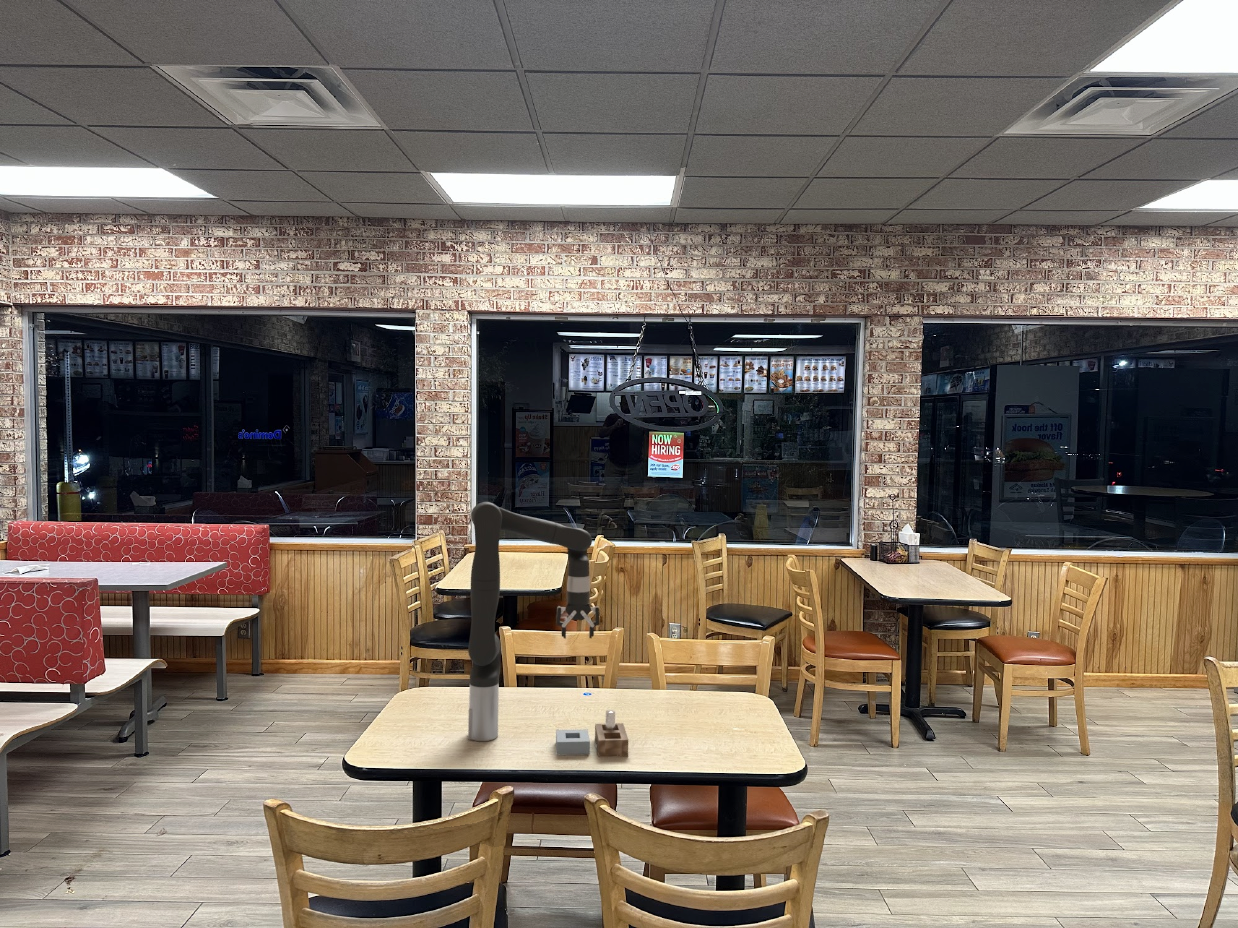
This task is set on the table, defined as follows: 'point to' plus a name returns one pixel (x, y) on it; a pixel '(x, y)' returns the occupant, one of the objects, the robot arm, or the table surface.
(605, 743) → the walnut rack
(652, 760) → the table surface
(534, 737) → the table surface
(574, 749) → the socket block
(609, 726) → the steel rod
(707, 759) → the table surface
